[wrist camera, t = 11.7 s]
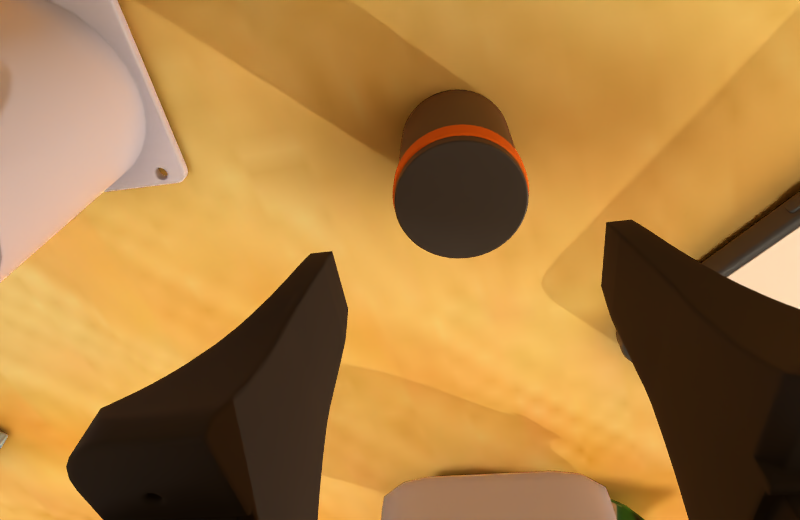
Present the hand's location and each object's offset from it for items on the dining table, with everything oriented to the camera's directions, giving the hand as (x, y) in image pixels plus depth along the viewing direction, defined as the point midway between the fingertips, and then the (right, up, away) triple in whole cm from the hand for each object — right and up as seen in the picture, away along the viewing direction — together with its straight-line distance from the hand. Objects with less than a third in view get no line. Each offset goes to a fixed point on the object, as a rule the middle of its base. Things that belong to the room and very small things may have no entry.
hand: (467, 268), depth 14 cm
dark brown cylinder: (0, +5, +6) cm, 8 cm away
